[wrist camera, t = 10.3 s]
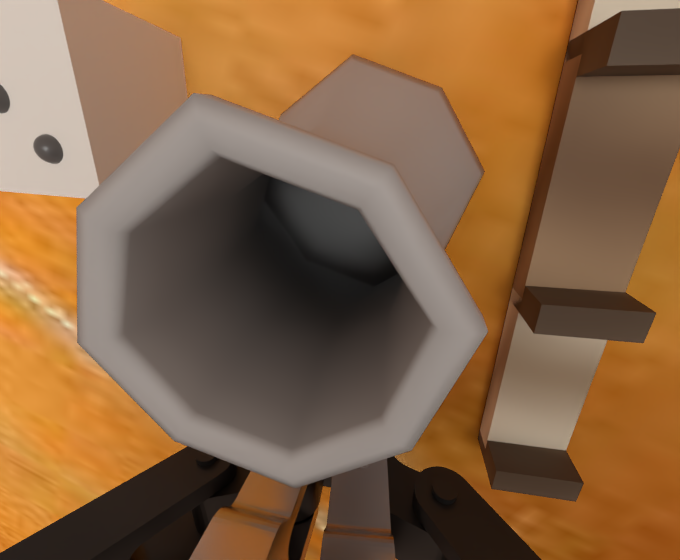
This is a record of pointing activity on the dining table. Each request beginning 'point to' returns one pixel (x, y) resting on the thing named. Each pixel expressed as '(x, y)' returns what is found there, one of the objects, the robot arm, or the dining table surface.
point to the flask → (287, 273)
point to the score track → (584, 237)
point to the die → (79, 92)
